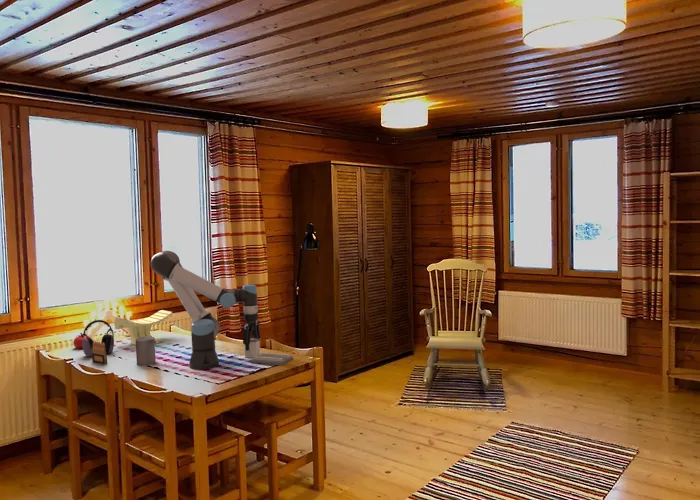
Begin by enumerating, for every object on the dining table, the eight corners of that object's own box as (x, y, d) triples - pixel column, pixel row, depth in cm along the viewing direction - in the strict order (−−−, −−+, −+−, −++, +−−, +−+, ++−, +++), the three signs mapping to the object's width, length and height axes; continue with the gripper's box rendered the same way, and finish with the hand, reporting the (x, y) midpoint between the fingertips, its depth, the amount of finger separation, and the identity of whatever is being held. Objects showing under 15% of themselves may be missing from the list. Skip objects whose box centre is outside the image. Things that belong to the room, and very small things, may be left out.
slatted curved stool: (160, 336, 379) (159, 309, 377) (173, 339, 368) (172, 311, 367) (115, 345, 357) (114, 316, 356) (128, 349, 346) (126, 319, 345)
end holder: (280, 365, 300) (280, 360, 300) (250, 362, 307) (250, 357, 306) (292, 358, 313) (292, 353, 313) (263, 356, 320) (263, 351, 320)
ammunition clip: (92, 362, 318) (91, 340, 317) (95, 361, 319) (94, 339, 318) (104, 364, 312) (103, 342, 311) (107, 363, 313) (106, 341, 312)
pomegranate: (93, 347, 352) (92, 332, 351) (75, 350, 346) (74, 335, 345) (90, 345, 360) (89, 330, 359) (72, 347, 354) (71, 332, 354)
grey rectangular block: (256, 358, 316) (255, 340, 315) (245, 357, 318) (244, 339, 317) (260, 356, 319) (259, 338, 319) (248, 355, 322) (248, 338, 321)
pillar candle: (136, 362, 315) (134, 335, 313) (155, 359, 318) (153, 333, 317) (137, 366, 306) (135, 338, 304) (156, 364, 309) (155, 336, 308)
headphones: (116, 352, 337) (114, 318, 336) (87, 358, 325) (85, 323, 324) (109, 350, 344) (107, 317, 342) (80, 356, 332) (78, 321, 330)
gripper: (247, 316, 306) (248, 359, 308) (265, 309, 325) (267, 350, 327) (234, 316, 309) (236, 358, 310) (254, 309, 328) (255, 349, 329)
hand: (252, 354), depth 319 cm, fingers open, 8 cm apart
